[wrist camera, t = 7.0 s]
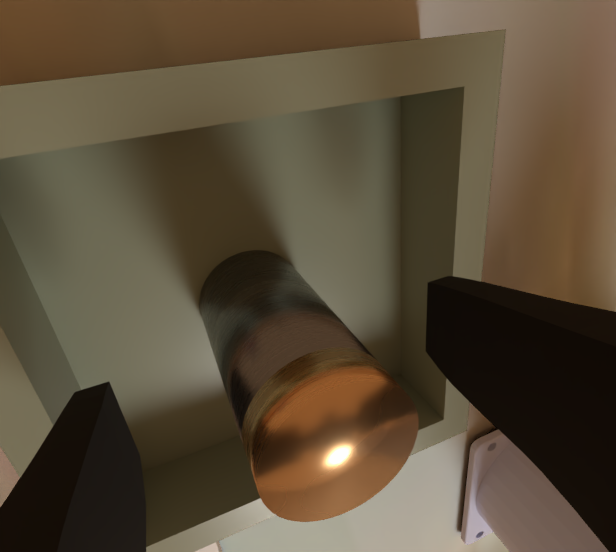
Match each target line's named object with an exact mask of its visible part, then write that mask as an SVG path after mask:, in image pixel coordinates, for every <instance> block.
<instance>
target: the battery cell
mask: <svg viewBox="0 0 616 552" xmlns="http://www.w3.org/2000/svg"><path fill="white" fill-rule="evenodd" d="M199 306H200V313H201V317H202V320H203V323H204V326H205V329H206V332H207V335H208V338H209V341H210V344H211V348H212V351H213V354H214V357H215V360H216V363H217V366H218V369H219V372H220V375H221V378H222V382H223V385H224V388H225V391H226V394H227V397H228V400H229V403H230V406H231V409H232V413H233V416H234V419H235V422H236V425H237V428H238V431H239V434H240V437H241V440H242V443H243V447H244V450H245V453H246V456H247V459H248V462H249V465H250V468H251V471H252V474H253V478H254V481H255V484H256V487H257V490H258V493H259V496H260V498H261V500H262V502H263V503H264V505H265V506H266V507H267V508H268V509H269V510H270V511H271V512H272V513H274V514H276V515H277V516H279V517H281V518H284V519H287V520H292V521H300V522H309V521H318V520H324V519H328V518H332V517H335V516H338V515H340V514H343V513H345V512H348V511H350V510H352V509H354V508H356V507H357V506H359V505H361V504H363V503H364V502H366V501H367V500H369V499H370V498H372V497H373V496H374V495H376V494H377V493H378V492H379V491H381V490H382V489H383V488H384V487H385V486H386V485H387V484H388V483H389V482H390V481H391V480H392V479H393V478H394V477H395V476H396V475H397V473H398V472H399V471H400V470H401V468H402V467H403V465H404V464H405V462H406V461H407V459H408V457H409V456H410V454H411V451H412V449H413V447H414V444H415V441H416V438H417V434H418V426H419V419H418V412H417V409H416V406H415V404H414V402H413V400H412V399H411V398H410V397H409V395H408V394H407V393H406V392H405V391H404V390H403V389H402V388H401V386H400V385H399V384H398V383H397V382H396V381H395V380H394V379H393V378H392V376H391V375H390V374H389V373H388V372H387V371H386V370H385V369H384V367H383V366H382V365H381V364H380V363H379V362H378V361H377V360H376V359H375V357H374V356H373V355H372V354H371V353H370V352H369V351H368V350H367V349H366V347H365V346H364V345H363V344H362V343H361V342H360V341H359V340H358V339H357V337H356V336H355V335H354V334H353V333H352V332H351V331H350V330H349V328H348V327H347V326H346V325H345V324H344V323H343V322H342V321H341V320H340V318H339V317H338V316H337V315H336V314H335V313H334V312H333V311H332V310H331V308H330V307H329V306H328V305H327V304H326V303H325V302H324V301H323V300H322V298H321V297H320V296H319V295H318V294H317V293H316V292H315V291H314V290H313V288H312V287H311V286H310V285H309V284H308V283H307V282H306V281H305V279H304V278H303V277H302V276H301V275H300V274H299V273H298V272H297V271H296V269H295V268H294V267H293V266H292V265H291V264H290V263H289V262H288V261H287V260H286V259H284V258H283V257H281V256H280V255H277V254H275V253H272V252H269V251H263V250H251V251H245V252H241V253H238V254H235V255H233V256H231V257H229V258H227V259H225V260H224V261H222V262H221V263H220V264H219V265H217V266H216V267H215V268H214V269H213V270H212V272H211V273H210V274H209V276H208V277H207V278H206V280H205V282H204V284H203V287H202V289H201V293H200V300H199Z"/></svg>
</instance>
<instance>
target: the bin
mask: <svg viewBox="0 0 616 552" xmlns="http://www.w3.org/2000/svg"><path fill="white" fill-rule="evenodd" d="M505 32H506V30H497V31H488V32H479V33H470V34H461V35H452V36H443V37H434V38H425V39H416V40H408V41H399V42H390V43H381V44H372V45H363V46H354V47H345V48H336V49H327V50H318V51H309V52H300V53H291V54H282V55H273V56H265V57H256V58H247V59H238V60H229V61H220V62H211V63H202V64H193V65H184V66H175V67H166V68H157V69H148V70H139V71H130V72H121V73H113V74H104V75H95V76H86V77H77V78H68V79H59V80H50V81H41V82H32V83H23V84H14V85H5V86H0V447H1V448H2V450H3V451H4V453H5V454H6V456H7V458H8V459H9V461H10V462H11V464H12V466H13V467H14V469H15V470H16V472H17V474H18V475H19V477H21V476H22V474H23V473H24V471H25V470H26V468H27V467H28V465H29V464H30V462H31V461H32V459H33V457H34V456H35V454H36V453H37V451H38V450H39V448H40V446H41V445H42V443H43V442H44V440H45V438H46V437H47V435H48V434H49V432H50V430H51V429H52V427H53V425H54V424H55V422H56V421H57V419H58V417H59V416H60V414H61V412H62V411H63V409H64V408H65V406H66V405H67V403H68V402H69V400H70V398H71V397H72V395H73V394H74V392H76V391H80V390H83V389H86V388H89V387H92V386H96V385H99V384H102V383H105V382H110V384H111V387H112V389H113V392H114V394H115V396H116V399H117V401H118V404H119V406H120V408H121V411H122V413H123V416H124V418H125V420H126V423H127V425H128V428H129V430H130V432H131V435H132V437H133V440H134V442H135V444H136V447H137V449H138V452H139V454H140V458H141V466H142V474H143V482H144V491H145V500H146V552H195V551H197V550H199V549H202V548H204V547H206V546H208V545H211V544H213V543H215V542H217V541H220V540H222V539H224V538H226V537H229V536H231V535H233V534H235V533H238V532H240V531H242V530H244V529H247V528H249V527H251V526H253V525H256V524H258V523H260V522H262V521H265V520H267V519H269V518H271V517H274V516H276V514H274V513H272V512H271V511H270V510H269V509H268V508H267V507H266V506H265V505H264V503H263V502H262V500H261V498H260V496H259V493H258V490H257V487H256V484H255V481H254V478H253V474H252V471H251V468H250V465H249V462H248V459H247V456H246V453H245V450H244V447H243V443H242V440H241V437H240V434H239V431H238V428H237V425H236V422H235V419H234V416H233V413H232V409H231V406H230V403H229V400H228V397H227V394H226V391H225V388H224V385H223V382H222V378H221V375H220V372H219V369H218V366H217V363H216V360H215V357H214V354H213V351H212V348H211V344H210V341H209V338H208V335H207V332H206V329H205V326H204V323H203V320H202V317H201V313H200V306H199V300H200V293H201V289H202V287H203V284H204V282H205V280H206V278H207V277H208V276H209V274H210V273H211V272H212V270H213V269H214V268H215V267H216V266H217V265H219V264H220V263H221V262H222V261H224V260H225V259H227V258H229V257H231V256H233V255H235V254H238V253H241V252H245V251H251V250H263V251H269V252H272V253H275V254H277V255H280V256H281V257H283V258H284V259H286V260H287V261H288V262H289V263H290V264H291V265H292V266H293V267H294V268H295V269H296V271H297V272H298V273H299V274H300V275H301V276H302V277H303V278H304V279H305V281H306V282H307V283H308V284H309V285H310V286H311V287H312V288H313V290H314V291H315V292H316V293H317V294H318V295H319V296H320V297H321V298H322V300H323V301H324V302H325V303H326V304H327V305H328V306H329V307H330V308H331V310H332V311H333V312H334V313H335V314H336V315H337V316H338V317H339V318H340V320H341V321H342V322H343V323H344V324H345V325H346V326H347V327H348V328H349V330H350V331H351V332H352V333H353V334H354V335H355V336H356V337H357V339H358V340H359V341H360V342H361V343H362V344H363V345H364V346H365V347H366V349H367V350H368V351H369V352H370V353H371V354H372V355H373V356H374V357H375V359H376V360H377V361H378V362H379V363H380V364H381V365H382V366H383V367H384V369H385V370H386V371H387V372H388V373H389V374H390V375H391V376H392V378H393V379H394V380H395V381H396V382H397V383H398V384H399V385H400V386H401V388H402V389H403V390H404V391H405V392H406V393H407V394H408V395H409V397H410V398H411V399H412V400H413V402H414V404H415V406H416V409H417V412H418V419H419V426H418V434H417V438H416V441H415V444H414V447H413V449H412V451H411V454H410V455H413V454H415V453H417V452H419V451H422V450H424V449H426V448H428V447H431V446H433V445H435V444H437V443H440V442H442V441H444V440H446V439H449V438H451V437H453V436H455V435H458V434H460V433H462V432H464V431H467V422H468V412H469V401H468V400H467V399H466V398H465V397H464V396H463V395H462V394H461V393H460V392H459V391H458V390H457V389H456V388H455V387H454V386H453V385H452V384H451V383H450V382H449V380H448V379H447V378H446V377H445V376H444V374H443V373H442V372H441V371H440V370H439V368H438V367H437V366H436V364H435V363H434V362H433V360H432V359H431V358H430V356H429V355H428V354H427V353H426V318H427V286H428V282H430V281H434V280H437V279H440V278H443V277H446V276H454V277H461V278H466V279H471V280H476V281H480V282H481V279H482V268H483V258H484V248H485V238H486V227H487V217H488V207H489V197H490V186H491V176H492V166H493V156H494V145H495V135H496V125H497V114H498V104H499V94H500V84H501V73H502V63H503V53H504V43H505Z"/></svg>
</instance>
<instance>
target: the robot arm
mask: <svg viewBox="0 0 616 552" xmlns="http://www.w3.org/2000/svg"><path fill="white" fill-rule="evenodd" d="M426 353H427V354H428V355H429V356H430V358H431V359H432V360H433V362H434V363H435V364H436V366H437V367H438V368H439V370H440V371H441V372H442V373H443V374H444V376H445V377H446V378H447V379H448V380H449V382H450V383H451V384H452V385H453V386H454V387H455V388H456V389H457V390H458V391H459V392H460V393H461V394H462V395H463V396H464V397H465V398H466V399H467V400H468V401H469V402H470V403H471V404H472V405H473V406H474V407H475V408H477V409H478V410H479V411H480V412H481V413H482V414H483V415H484V416H485V417H486V418H487V419H488V420H489V421H490V422H491V423H492V424H493V425H494V426H495V427H496V428H498V430H496V431H493V432H491V433H489V434H487V435H485V436H482V437H480V438H478V439H477V440H475V441H474V442H473V443H472V445H471V447H470V455H469V464H468V474H467V483H466V493H465V502H464V512H463V521H462V531H461V539H462V540H463V542H464V543H465V544H467V545H468V544H472V543H474V542H475V541H477V540H479V539H481V538H483V537H485V536H487V535H488V534H490V533H492V532H494V533H495V534H496V536H497V537H498V538H499V539H500V540H501V542H502V543H503V544H504V545H505V546H506V548H507V549H508V550H509V551H510V552H616V312H613V311H608V310H603V309H598V308H593V307H588V306H583V305H578V304H574V303H569V302H565V301H560V300H556V299H551V298H547V297H543V296H539V295H534V294H530V293H526V292H522V291H518V290H514V289H510V288H506V287H502V286H497V285H493V284H489V283H485V282H480V281H476V280H471V279H466V278H461V277H454V276H446V277H443V278H440V279H437V280H434V281H430V282H428V286H427V318H426ZM0 552H146V500H145V491H144V482H143V474H142V466H141V458H140V454H139V452H138V449H137V447H136V444H135V442H134V440H133V437H132V435H131V432H130V430H129V428H128V425H127V423H126V420H125V418H124V416H123V413H122V411H121V408H120V406H119V404H118V401H117V399H116V396H115V394H114V392H113V389H112V387H111V384H110V382H105V383H102V384H99V385H96V386H92V387H89V388H86V389H83V390H80V391H76V392H74V394H73V395H72V397H71V398H70V400H69V402H68V403H67V405H66V406H65V408H64V409H63V411H62V412H61V414H60V416H59V417H58V419H57V421H56V422H55V424H54V425H53V427H52V429H51V430H50V432H49V434H48V435H47V437H46V438H45V440H44V442H43V443H42V445H41V446H40V448H39V450H38V451H37V453H36V454H35V456H34V457H33V459H32V461H31V462H30V464H29V465H28V467H27V468H26V470H25V471H24V473H23V474H22V476H21V477H20V479H19V480H18V482H17V484H16V485H15V487H14V488H13V490H12V491H11V493H10V494H9V496H8V497H7V499H6V500H5V502H4V503H3V505H2V506H1V507H0Z"/></svg>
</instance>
